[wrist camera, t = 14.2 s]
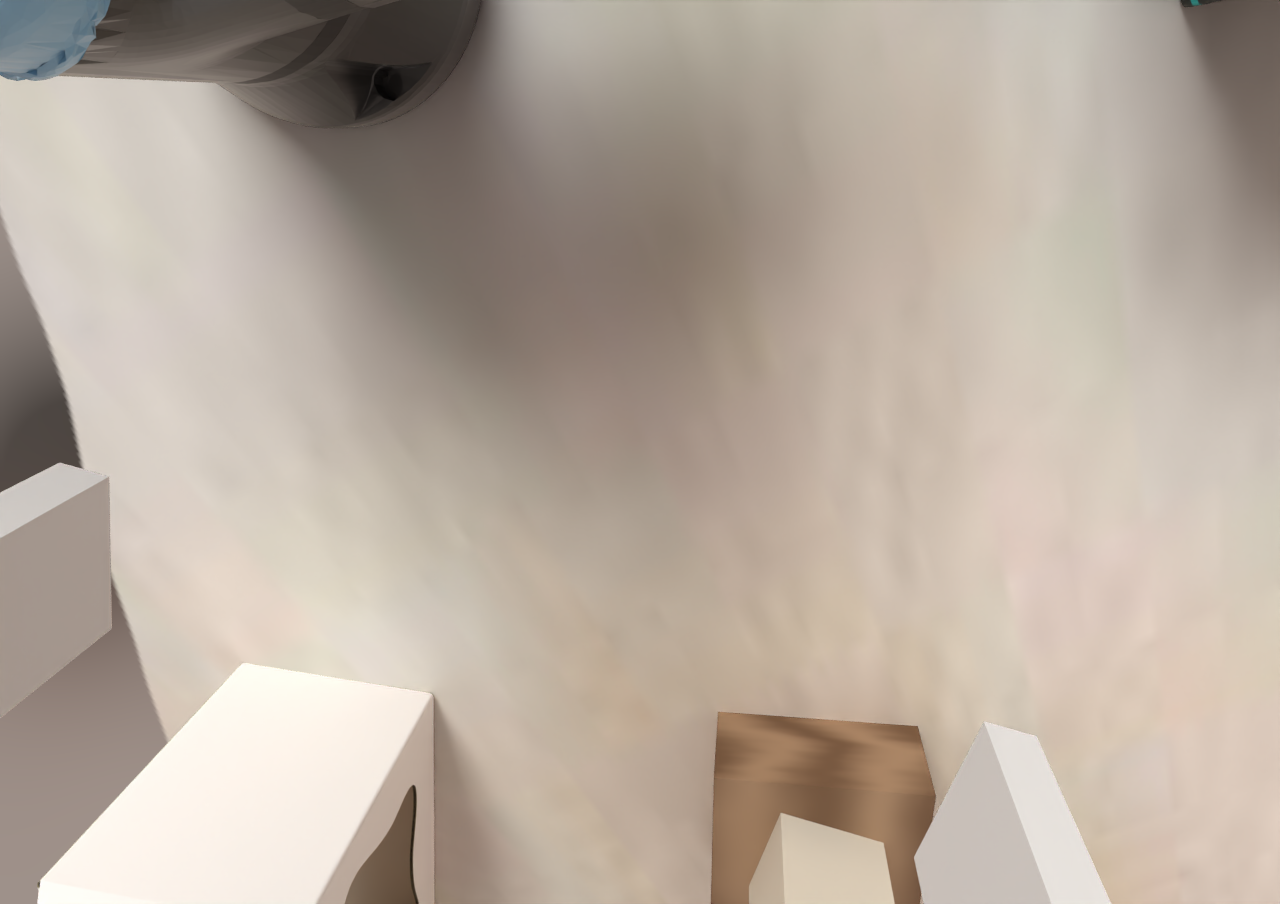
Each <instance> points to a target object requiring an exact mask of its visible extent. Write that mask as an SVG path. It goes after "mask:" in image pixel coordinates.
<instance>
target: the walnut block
mask: <svg viewBox="0 0 1280 904" xmlns="http://www.w3.org/2000/svg"><path fill="white" fill-rule="evenodd" d="M935 798H936V795H935V791H934V787H933V784H932V780H931V776H930V772H929V768H928V764H927V761H926V757H925V753H924V749H923V745H922V742H921V738H920V734H919V730H918V726H905V725H891V724H877V723H863V722H850V721H836V720H822V719H809V718H795V717H781V716H767V715H754V714H740V713H726V712H718V723H717V739H716V755H715V771H714V800H713V842H712V883H711V904H749V884H750V882H751V880H752V878H753V875H754V873H755V871H756V868H757V866H758V864H759V861H760V859H761V857H762V855H763V852H764V850H765V848H766V845H767V843H768V841H769V839H770V836H771V834H772V832H773V829H774V827H775V825H776V822H777V820H778V818H779V816H780V813H784V814H787V815H790V816H794V817H797V818H801V819H804V820H807V821H811V822H814V823H818V824H821V825H825V826H828V827H831V828H835V829H838V830H842V831H845V832H849V833H852V834H855V835H859V836H862V837H865V838H869V839H872V840H876V841H879V842H882V843H884V848H885V853H886V859H887V864H888V870H889V875H890V881H891V886H892V892H893V897H894V902H895V904H920V897H921V889H920V884H919V879H918V874H917V869H916V865H915V860H914V856H915V854H916V852H917V850H918V848H919V846H920V844H921V842H922V841H923V839H924V837H925V835H926V833H927V831H928V829H929V827H930V825H931V823H932V818H933V811H934V804H935Z"/></svg>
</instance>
